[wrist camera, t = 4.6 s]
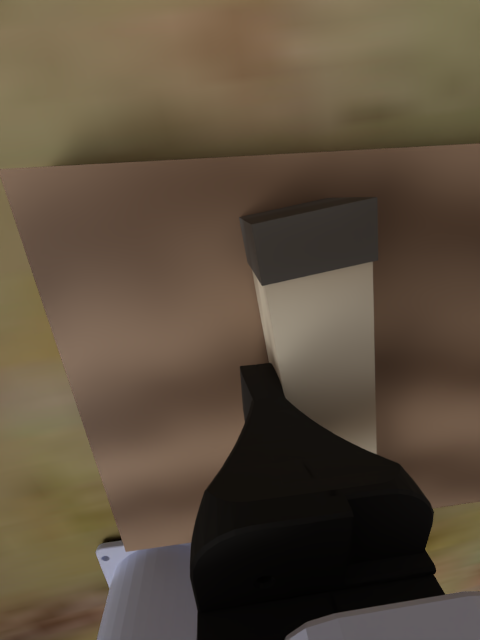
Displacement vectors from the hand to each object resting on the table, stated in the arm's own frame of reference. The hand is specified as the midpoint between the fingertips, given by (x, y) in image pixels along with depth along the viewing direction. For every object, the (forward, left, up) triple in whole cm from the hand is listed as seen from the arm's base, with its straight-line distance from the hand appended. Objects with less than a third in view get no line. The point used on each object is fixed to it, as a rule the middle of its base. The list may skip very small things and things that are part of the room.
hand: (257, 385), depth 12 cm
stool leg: (-2, -2, -1) cm, 3 cm away
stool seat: (-1, -3, -4) cm, 5 cm away
